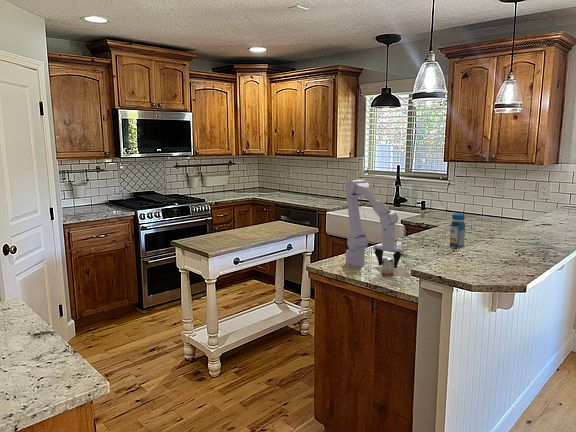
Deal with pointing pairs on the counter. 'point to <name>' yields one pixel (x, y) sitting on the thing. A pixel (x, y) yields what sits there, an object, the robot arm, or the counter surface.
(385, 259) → the cap
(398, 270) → the board
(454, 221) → the beverage bottle
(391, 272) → the jar
